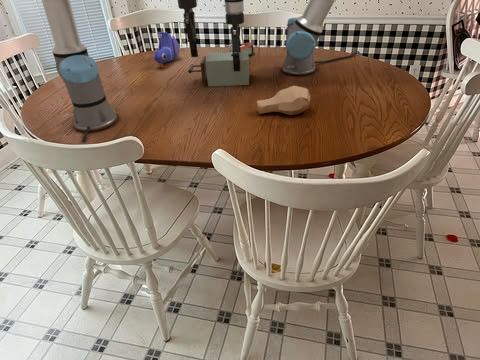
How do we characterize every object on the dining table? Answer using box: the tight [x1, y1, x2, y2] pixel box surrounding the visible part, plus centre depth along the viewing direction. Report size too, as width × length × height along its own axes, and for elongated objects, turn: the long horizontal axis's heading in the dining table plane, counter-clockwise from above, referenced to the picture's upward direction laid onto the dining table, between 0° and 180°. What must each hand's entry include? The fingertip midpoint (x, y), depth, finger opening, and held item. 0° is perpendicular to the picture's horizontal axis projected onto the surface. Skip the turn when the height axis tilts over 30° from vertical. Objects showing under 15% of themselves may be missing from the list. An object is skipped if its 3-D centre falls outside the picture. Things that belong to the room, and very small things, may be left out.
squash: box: [255, 85, 312, 116], centre depth 130 cm, size 11×20×9 cm, turn 92°
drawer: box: [187, 55, 207, 85], centre depth 158 cm, size 23×10×9 cm, turn 88°
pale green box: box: [205, 51, 250, 87], centre depth 157 cm, size 18×11×11 cm, turn 88°
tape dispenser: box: [228, 42, 255, 56], centre depth 185 cm, size 18×5×20 cm
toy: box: [152, 31, 180, 69], centre depth 182 cm, size 10×17×25 cm
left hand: (194, 56), depth 155 cm, fingers closed
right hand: (237, 66), depth 157 cm, fingers closed on pale green box, 11 cm apart
